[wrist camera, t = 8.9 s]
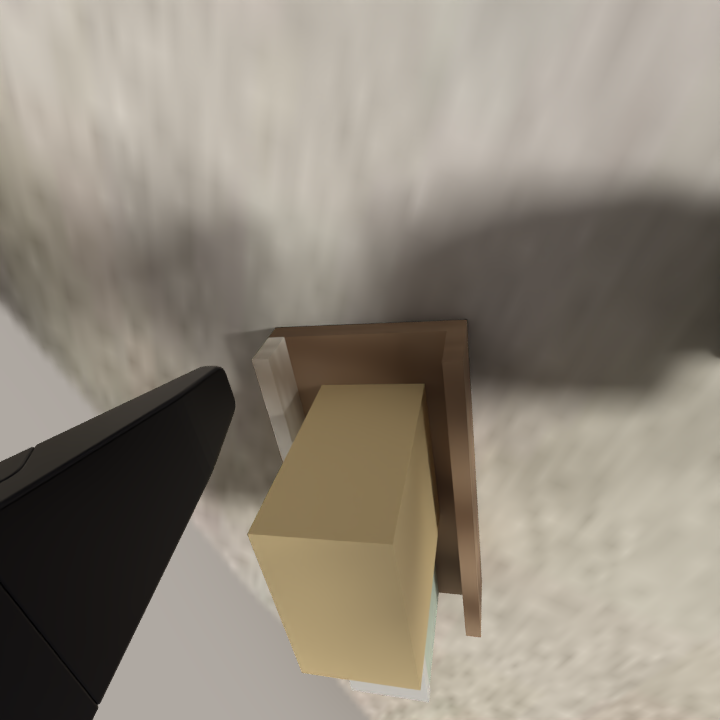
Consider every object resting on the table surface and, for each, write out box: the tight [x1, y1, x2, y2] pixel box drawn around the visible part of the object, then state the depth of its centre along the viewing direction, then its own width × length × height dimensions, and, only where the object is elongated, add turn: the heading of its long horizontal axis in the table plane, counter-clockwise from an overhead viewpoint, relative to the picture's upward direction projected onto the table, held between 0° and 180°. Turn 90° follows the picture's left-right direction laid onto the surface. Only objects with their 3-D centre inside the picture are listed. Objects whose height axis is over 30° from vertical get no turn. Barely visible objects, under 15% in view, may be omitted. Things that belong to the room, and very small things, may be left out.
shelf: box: [252, 320, 482, 637], centre depth 26 cm, size 18×9×4 cm, turn 9°
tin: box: [349, 565, 439, 702], centre depth 28 cm, size 4×4×6 cm
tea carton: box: [247, 384, 440, 691], centre depth 22 cm, size 8×5×9 cm, turn 9°
